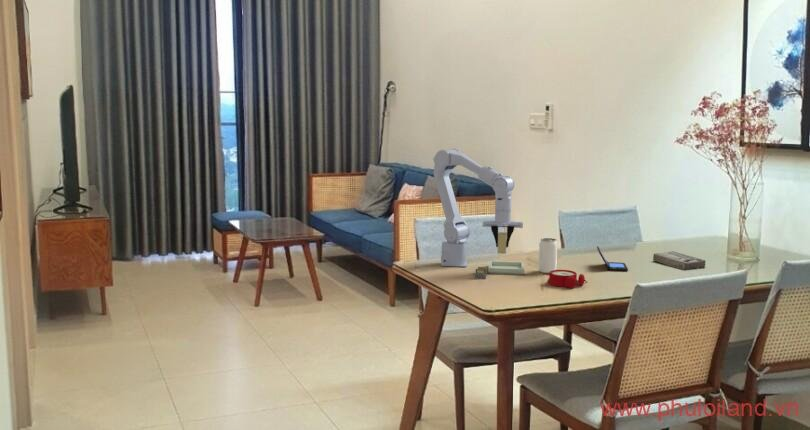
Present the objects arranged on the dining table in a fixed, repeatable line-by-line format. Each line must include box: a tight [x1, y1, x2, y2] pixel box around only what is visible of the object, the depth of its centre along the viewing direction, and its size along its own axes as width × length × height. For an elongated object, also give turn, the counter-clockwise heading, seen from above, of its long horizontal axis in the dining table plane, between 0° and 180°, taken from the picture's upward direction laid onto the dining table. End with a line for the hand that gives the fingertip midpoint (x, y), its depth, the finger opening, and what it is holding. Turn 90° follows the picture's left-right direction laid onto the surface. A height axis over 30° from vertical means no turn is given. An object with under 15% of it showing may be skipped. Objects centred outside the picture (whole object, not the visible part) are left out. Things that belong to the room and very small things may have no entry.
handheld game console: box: [596, 246, 629, 273], centre depth 294 cm, size 12×11×7 cm
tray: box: [487, 260, 525, 276], centre depth 288 cm, size 13×13×2 cm
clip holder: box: [473, 266, 488, 280], centre depth 279 cm, size 4×9×2 cm, turn 172°
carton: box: [497, 231, 507, 255], centre depth 285 cm, size 3×5×7 cm, turn 171°
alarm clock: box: [542, 269, 588, 289], centre depth 267 cm, size 10×6×15 cm
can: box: [538, 237, 558, 274], centre depth 286 cm, size 6×6×12 cm
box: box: [652, 250, 706, 271], centre depth 301 cm, size 11×17×3 cm, turn 25°
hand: (502, 246), depth 285 cm, fingers closed on carton, 3 cm apart
